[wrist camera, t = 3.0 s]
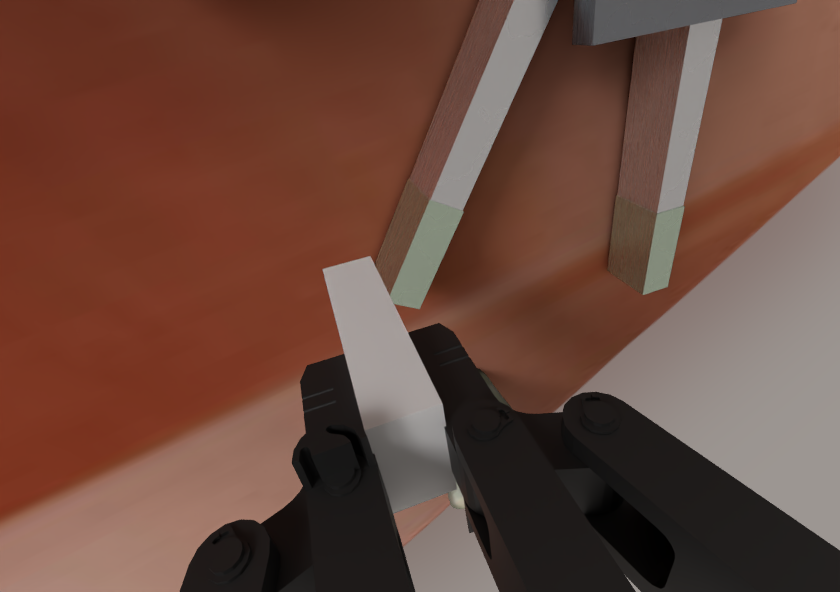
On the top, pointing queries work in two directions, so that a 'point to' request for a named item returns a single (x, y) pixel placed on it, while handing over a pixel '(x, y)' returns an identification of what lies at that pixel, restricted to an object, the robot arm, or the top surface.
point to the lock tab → (652, 16)
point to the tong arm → (459, 142)
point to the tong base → (659, 150)
